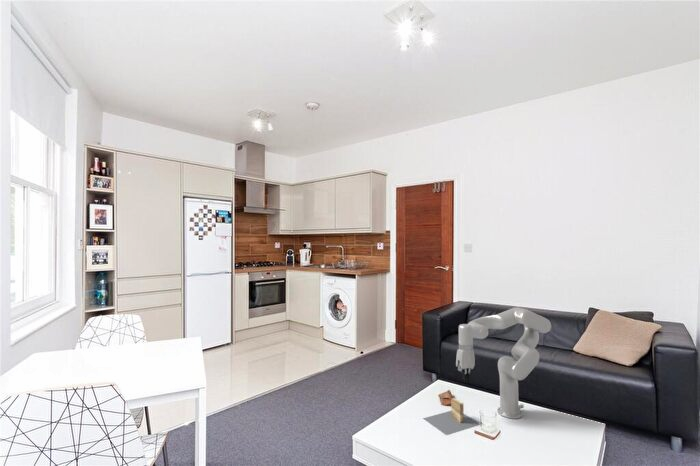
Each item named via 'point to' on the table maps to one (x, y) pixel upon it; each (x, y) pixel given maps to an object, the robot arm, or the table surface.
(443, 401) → the sunglasses case
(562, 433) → the table surface
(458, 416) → the maple tile
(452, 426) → the rubber mat
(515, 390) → the robot arm
